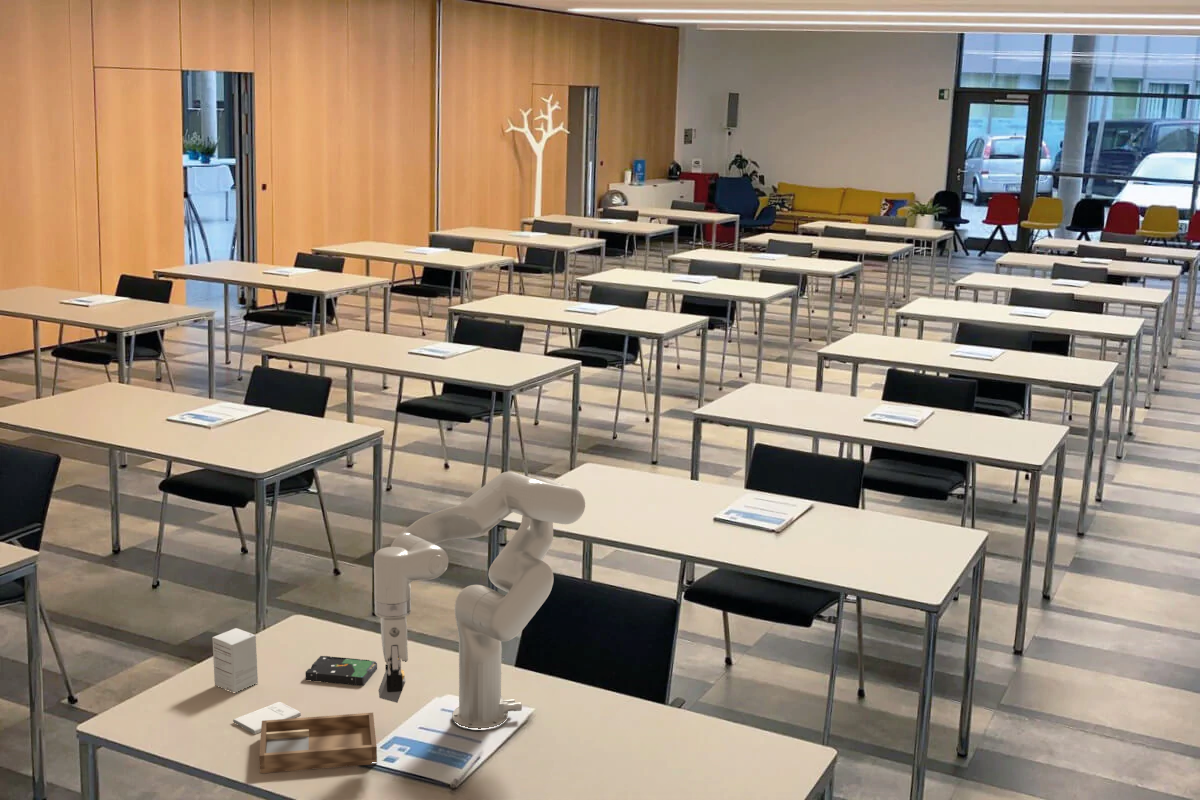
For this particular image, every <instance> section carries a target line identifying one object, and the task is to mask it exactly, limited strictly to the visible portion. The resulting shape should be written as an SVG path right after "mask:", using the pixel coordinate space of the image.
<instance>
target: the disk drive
mask: <svg viewBox="0 0 1200 800" xmlns="http://www.w3.org/2000/svg"><path fill="white" fill-rule="evenodd" d="M377 670H378V662H377V661H375V660H370V659H360V658H349V657H339V656H328V655H320V656H319V657H318V658H317V659H316V660H315V661H314V662H313V663H312V664H311V667H310V668H308V669H306V671H305V681H306V680H311V681H310V682H314V681H321V682H320V683H326V682H328V683H329V684H338V685H349V686H359V687H364V686H365V685H366V684H367V683H368V682H369V680H370V679H371V677H372V676H373V675H374V673H375V672H376V671H377Z"/></svg>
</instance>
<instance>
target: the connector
mask: <svg viewBox="0 0 1200 800" xmlns="http://www.w3.org/2000/svg"><path fill="white" fill-rule="evenodd" d="M390 668H391V666H390ZM401 673H402V691H401V692H387V674H388V669H385V672H384V675H383V677H382V679H381V683H380V685H379V688H378V697H379V699H381V700H385V701H389V702H393V703H395V704H396V703H398V702H399V700H400V697H401V694H402V692H403V690H404V687H405V684H406V678H405V670H404V669H402V668H401Z"/></svg>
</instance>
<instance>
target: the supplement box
mask: <svg viewBox="0 0 1200 800" xmlns="http://www.w3.org/2000/svg"><path fill="white" fill-rule="evenodd" d="M211 640H212V655H213V657H212V659H213V674H214V675H213V677H214V686H215V685H217V686H219V687H222V688H224V689H226V690H229V691H231V692H235V694H237V693H239V692H238V691H240V690H242V689H244V688H246V689H248V688H247V687H249V686H251V687H253V686H255V685H257V684H256V683H258V684H259V679H258V677H259V676H258V658H257V657H258V656H257V653H258V652H257V636H256V635H255V634H253V633H252V632H249V631H245V630H243V629H240V628H237V627H235V628H232V629H230V630H227V631H224V632H222V633H219V634H217V635H215V636H212V639H211ZM254 684H255V685H254ZM252 685H253V686H252ZM217 686H216V687H217ZM219 687H218V688H219ZM249 688H250V687H249ZM224 689H223V690H224ZM226 690H225V691H226ZM244 690H245V689H244ZM242 691H243V690H242ZM231 692H230V693H231ZM236 692H237V693H236ZM240 692H241V691H240Z"/></svg>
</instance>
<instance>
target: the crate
mask: <svg viewBox="0 0 1200 800" xmlns="http://www.w3.org/2000/svg"><path fill="white" fill-rule="evenodd" d="M259 739H260V741H259V753H258V755H259V757H258V758H259V760H258V761H259V774H268V773H269V774H270V773H283V772H295V771H305V770H307V771H308V770H318V769H320V770H321V769H329V768H330V769H331V768H332V769H333V768H342V767H354V766H355V767H356V766H367V765H372V764H371V763H372V762H377V763H378V756H377V755H378V751H377V745H378V744H377V737H376V727H375V718H374V712H364V713H363V712H362V713H349V714H337V715H336V714H334V715H321V716H309V717H307V716H306V717H296V718H292V719H278V720H265V721H262V726H261V732H260V738H259Z"/></svg>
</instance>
